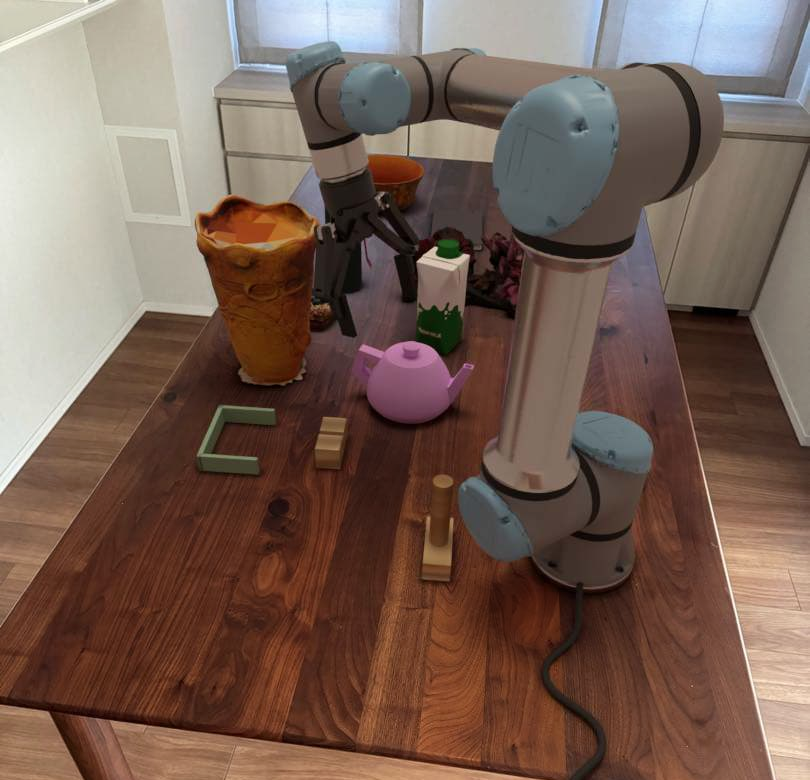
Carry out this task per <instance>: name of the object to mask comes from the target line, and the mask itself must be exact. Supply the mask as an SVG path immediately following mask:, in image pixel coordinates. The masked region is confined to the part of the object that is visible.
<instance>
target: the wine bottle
mask: <svg viewBox="0 0 810 780" xmlns="http://www.w3.org/2000/svg"><path fill="white" fill-rule="evenodd" d="M323 206H324V225H325V224H328V223H330V214H329V212H328V210H327V209H326V207H325V205H324V204H323ZM334 235H336V233H335V232H334ZM334 239H335V238H334ZM334 239H333V243H334ZM342 243H344V244H346V242H345V241H344V240H343V242H342ZM363 246H364V254H365V260H366V263H367V264H368V267H369V268H370V270H371V271H373V269H372V267H373V265H372V263H371V261H370V258H369V257H368V249H367V238H365V239H364V240H363ZM333 252H334V247H333ZM362 256H363V255H362V242H361V243H359V244H356V245H355V249H354V251H353V252H351V255H350V259H349V263H348V267H347V271H346V275H345V279H344V283H343V287H342V291H341V294H344V295H346V294H354V293H356V292H359V291H360V290H361V289H362V287H363V262H362V260H363V259H362V258H363V257H362Z"/></svg>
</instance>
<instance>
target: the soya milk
mask: <svg viewBox="0 0 810 780" xmlns="http://www.w3.org/2000/svg"><path fill="white" fill-rule="evenodd" d="M469 258H470V255H467V254H464V253H461V252H459V242H458V241H456V240H452V239H443V240H440V241H439V242H438V247H433V248H432V249H431V250H430V251H428V252H427V253H426V254H424V255H423V256H422V258H420V259H419V260H418V261H417V262H416V263H417V271H418V297H416V300H417V301H416V302H417V303H416V322H415V323H416V325H415V340H414V342H418V343H422V344H425V345H428V346H430V347H431V348H433V349H434V350H435V351H436V352H437V353H438V355H442V356H445V357H446V356H448V354H449V353H450V352H452V350H453V349H454V348H455V347H456V346H457V345H458V344H459V342H460V343H461V341H462V334H463V326H464V318H465V304H466V303H465V294H466V282H467V273H468V266H469Z"/></svg>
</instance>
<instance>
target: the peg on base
mask: <svg viewBox="0 0 810 780" xmlns="http://www.w3.org/2000/svg"><path fill="white" fill-rule="evenodd" d="M431 484H432V486H431V499H430V500H431V501H430V502H431V503H430V514H429V515H427V516H426V522H425V533H424V545H423V555H422V567H421V568H422V569H421V580H423V581H424V580H426V581H438V582H450V581H451V573H452V559H453V556H452V555H453V539H454V523H455V522H454V519H455V518H454V517H451V516H452V515H451V513H452V503H453V491H454V479H453V478H452V477H451V476H450V475H447V474H437V475H436V476H434V477H433V478H432V483H431Z"/></svg>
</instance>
